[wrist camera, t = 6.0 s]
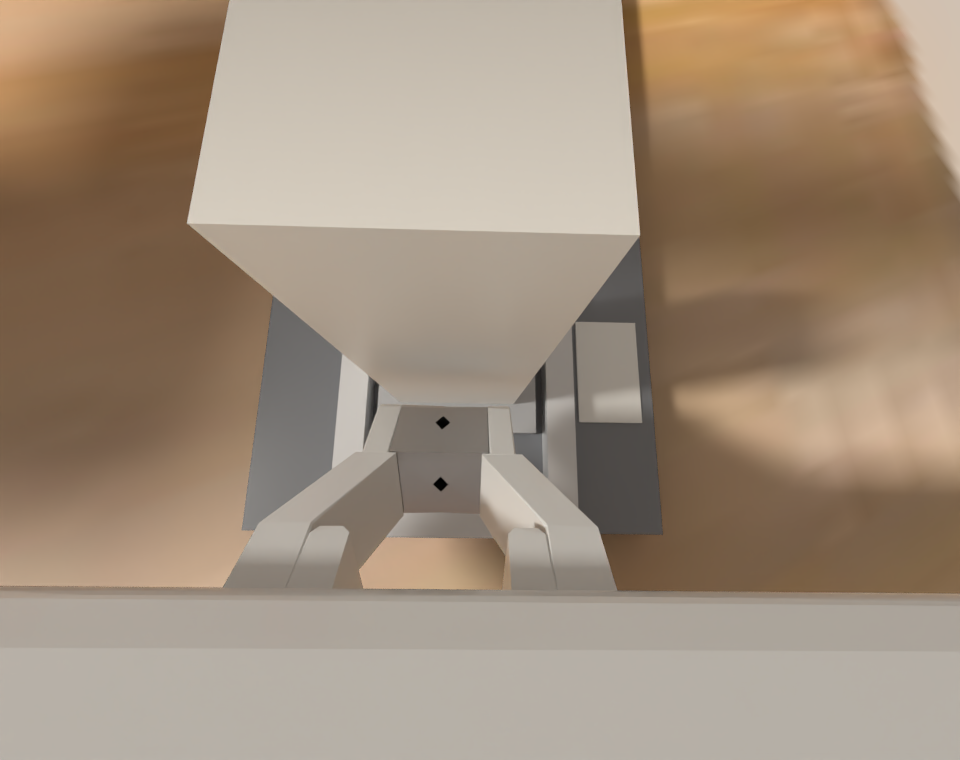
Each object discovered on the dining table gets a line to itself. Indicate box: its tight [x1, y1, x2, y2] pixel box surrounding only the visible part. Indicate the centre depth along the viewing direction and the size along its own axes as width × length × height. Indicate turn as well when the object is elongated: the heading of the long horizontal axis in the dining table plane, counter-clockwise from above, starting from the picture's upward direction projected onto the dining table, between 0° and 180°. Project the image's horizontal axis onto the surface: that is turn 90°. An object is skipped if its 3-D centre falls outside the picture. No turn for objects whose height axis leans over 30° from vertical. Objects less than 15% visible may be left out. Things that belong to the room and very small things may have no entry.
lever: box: [187, 0, 640, 434], centre depth 9 cm, size 6×5×11 cm
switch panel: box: [242, 238, 663, 538], centre depth 17 cm, size 15×28×2 cm, turn 179°
